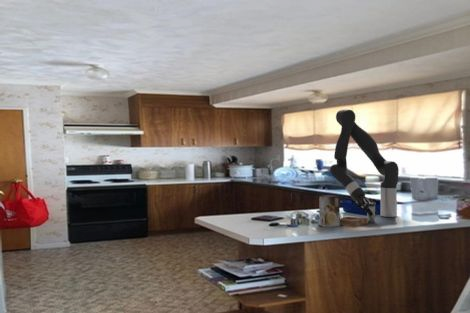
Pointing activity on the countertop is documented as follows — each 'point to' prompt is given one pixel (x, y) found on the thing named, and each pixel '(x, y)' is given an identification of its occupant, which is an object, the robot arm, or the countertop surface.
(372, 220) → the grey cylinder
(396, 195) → the robot arm
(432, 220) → the countertop surface
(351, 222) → the socket
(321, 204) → the coffee box
